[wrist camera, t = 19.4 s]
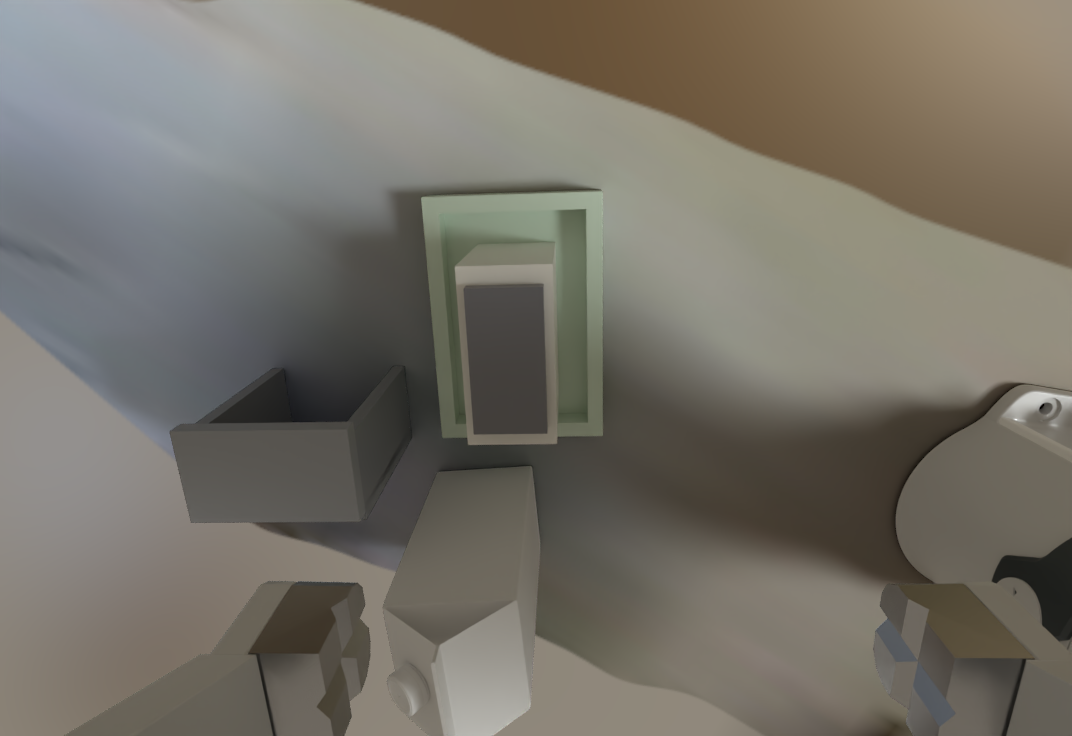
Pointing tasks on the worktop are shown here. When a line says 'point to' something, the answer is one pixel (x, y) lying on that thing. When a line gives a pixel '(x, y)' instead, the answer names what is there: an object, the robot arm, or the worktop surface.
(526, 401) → the cream box grey panel
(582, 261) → the tray
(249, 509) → the open-top grey box
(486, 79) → the worktop surface
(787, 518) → the worktop surface
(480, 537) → the milk carton
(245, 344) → the worktop surface
